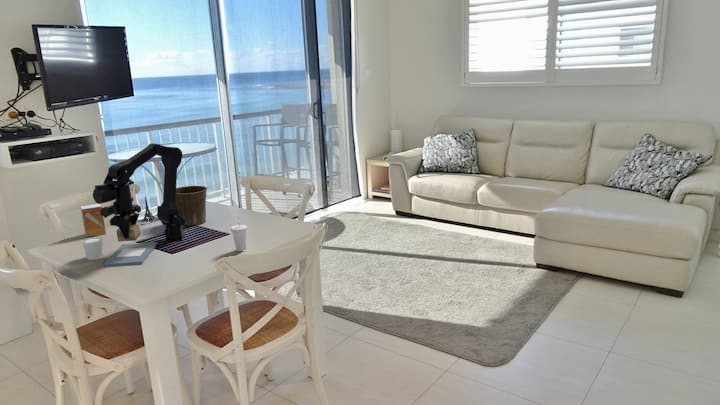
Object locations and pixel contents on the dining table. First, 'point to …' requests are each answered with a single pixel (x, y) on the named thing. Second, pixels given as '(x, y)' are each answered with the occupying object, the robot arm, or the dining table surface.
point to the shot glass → (93, 248)
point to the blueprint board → (131, 254)
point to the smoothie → (239, 236)
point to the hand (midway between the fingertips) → (129, 235)
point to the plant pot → (192, 204)
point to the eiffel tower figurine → (149, 215)
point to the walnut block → (133, 233)
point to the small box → (92, 220)
